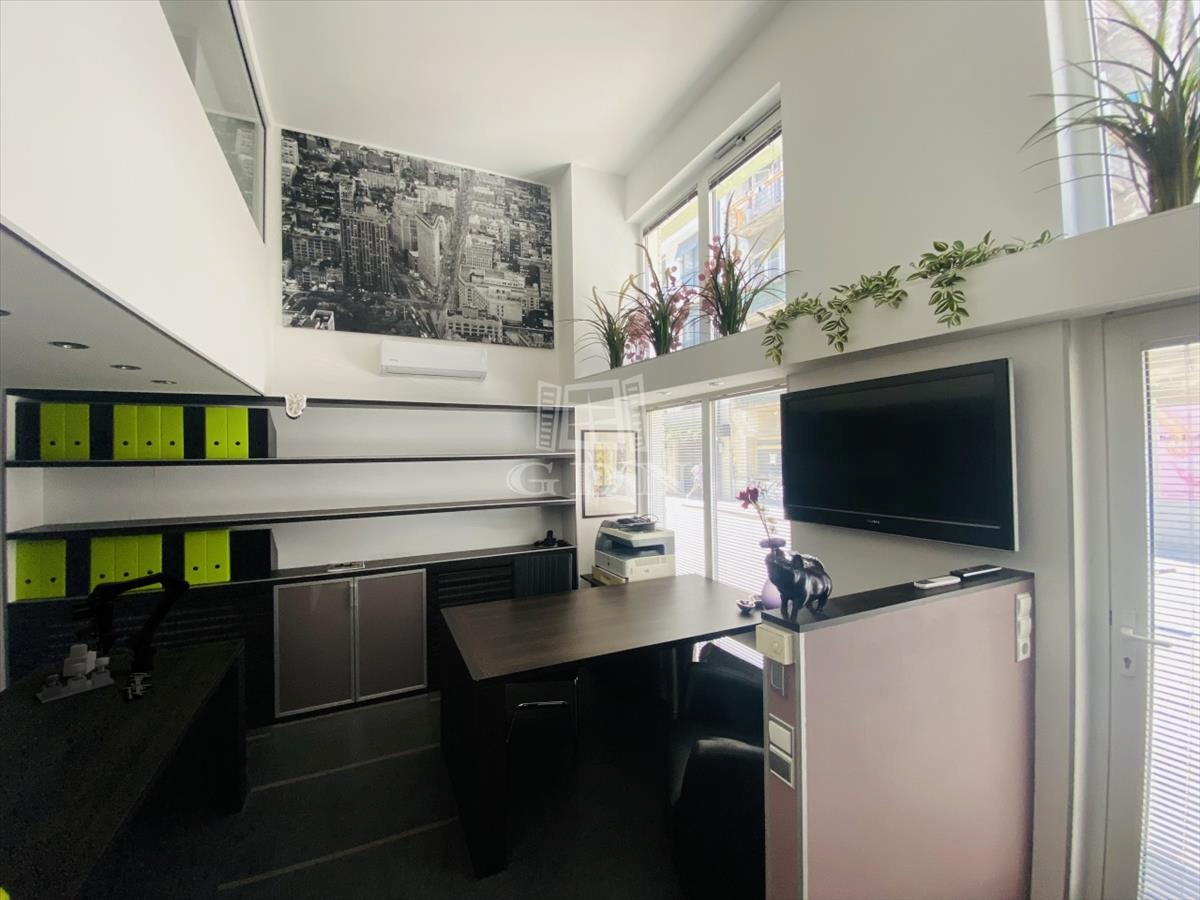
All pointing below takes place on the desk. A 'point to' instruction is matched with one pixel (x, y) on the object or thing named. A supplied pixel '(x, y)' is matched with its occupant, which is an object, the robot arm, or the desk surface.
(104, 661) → the knob
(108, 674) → the mount strip
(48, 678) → the pot knob
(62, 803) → the desk surface
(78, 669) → the knob
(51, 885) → the desk surface
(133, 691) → the nameplate
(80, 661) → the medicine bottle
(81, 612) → the robot arm
